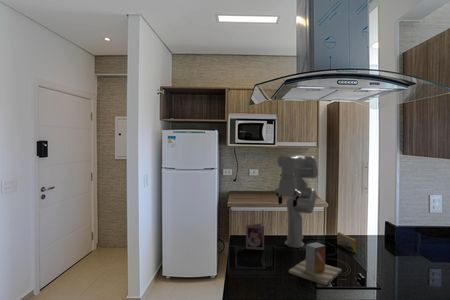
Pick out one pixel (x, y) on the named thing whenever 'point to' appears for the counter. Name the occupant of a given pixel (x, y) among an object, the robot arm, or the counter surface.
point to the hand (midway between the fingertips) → (287, 205)
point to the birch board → (319, 277)
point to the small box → (315, 257)
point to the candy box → (346, 242)
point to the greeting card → (255, 236)
